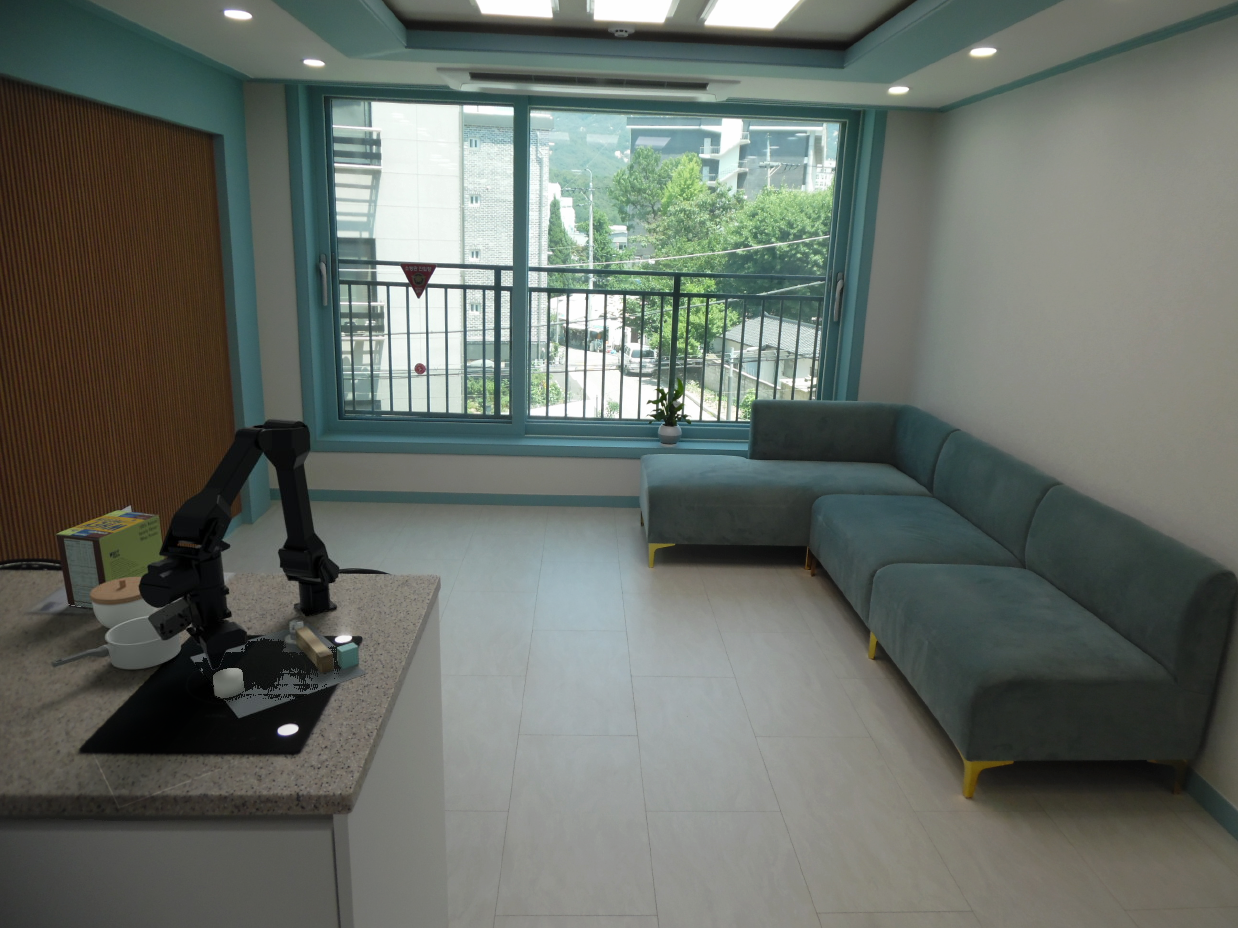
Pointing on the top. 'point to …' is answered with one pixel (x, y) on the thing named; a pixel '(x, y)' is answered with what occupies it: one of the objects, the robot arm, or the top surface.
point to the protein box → (107, 551)
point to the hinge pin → (293, 630)
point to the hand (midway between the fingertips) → (215, 668)
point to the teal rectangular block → (347, 655)
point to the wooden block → (314, 649)
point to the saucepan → (131, 646)
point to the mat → (286, 678)
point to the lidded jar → (119, 601)
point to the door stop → (228, 682)
